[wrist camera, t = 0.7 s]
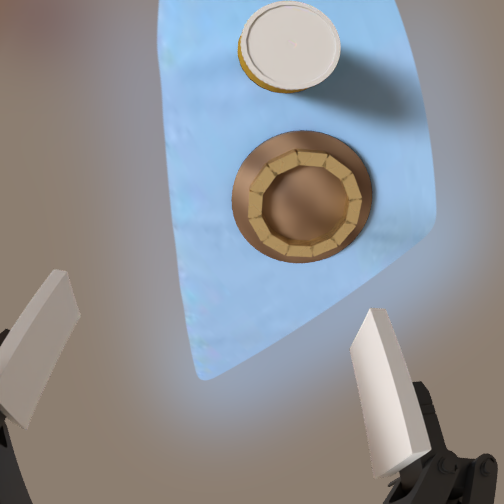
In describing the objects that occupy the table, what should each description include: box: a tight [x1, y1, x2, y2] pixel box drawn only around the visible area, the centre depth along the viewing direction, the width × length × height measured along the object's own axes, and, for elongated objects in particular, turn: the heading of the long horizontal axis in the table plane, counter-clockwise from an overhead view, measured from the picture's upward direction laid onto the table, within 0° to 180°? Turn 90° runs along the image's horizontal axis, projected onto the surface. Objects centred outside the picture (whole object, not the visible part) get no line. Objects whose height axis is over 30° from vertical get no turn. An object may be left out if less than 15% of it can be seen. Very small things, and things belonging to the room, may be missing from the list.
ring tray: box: [232, 130, 372, 263], centre depth 36 cm, size 17×17×2 cm
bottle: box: [238, 1, 341, 93], centre depth 22 cm, size 7×7×15 cm
